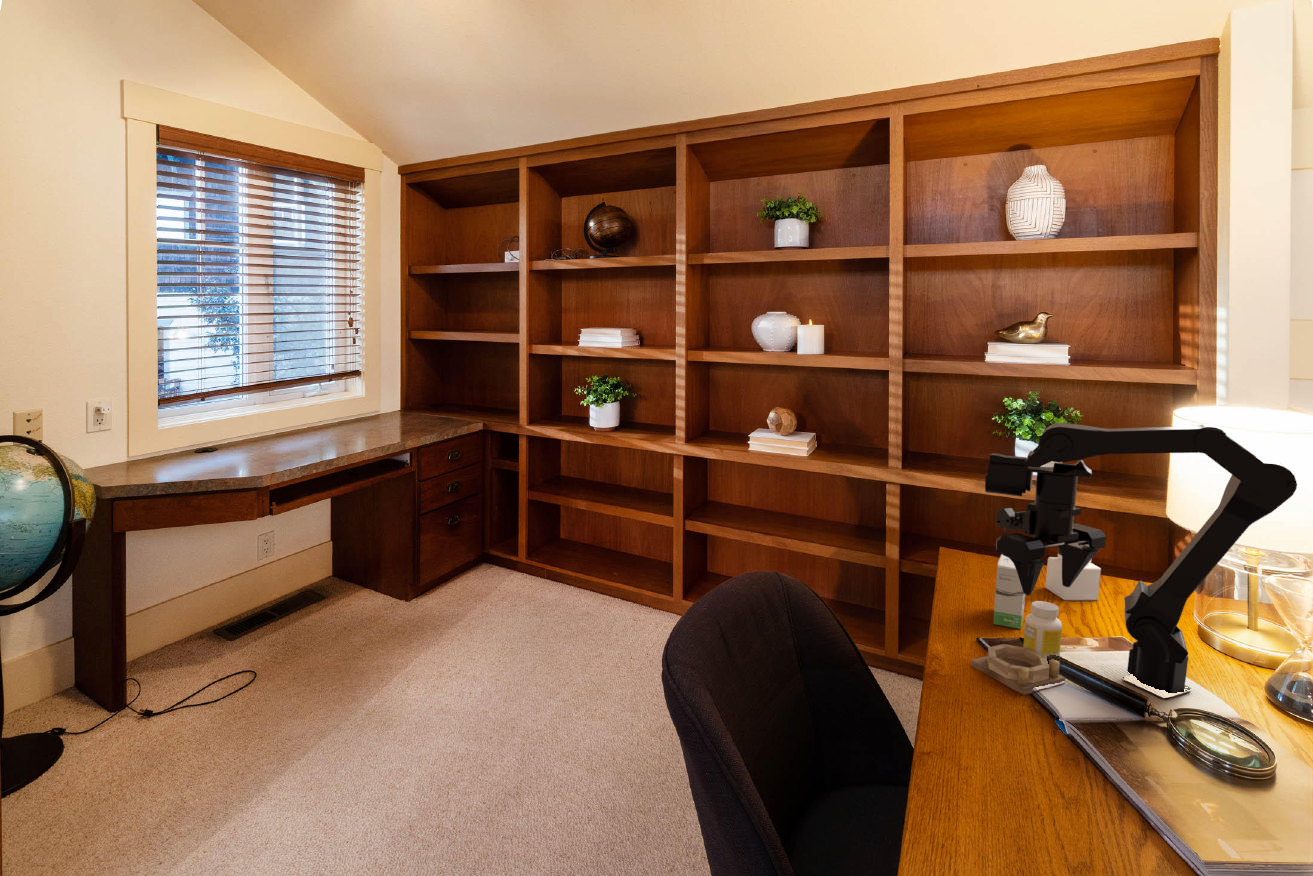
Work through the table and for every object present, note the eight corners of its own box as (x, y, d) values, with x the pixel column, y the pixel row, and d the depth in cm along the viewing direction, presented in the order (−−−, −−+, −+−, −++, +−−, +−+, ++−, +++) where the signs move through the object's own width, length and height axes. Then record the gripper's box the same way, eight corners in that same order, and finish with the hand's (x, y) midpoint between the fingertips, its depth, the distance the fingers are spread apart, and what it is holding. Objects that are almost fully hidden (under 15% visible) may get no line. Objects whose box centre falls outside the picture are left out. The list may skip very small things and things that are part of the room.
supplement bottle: (1062, 659, 112) (1067, 605, 111) (1054, 671, 108) (1059, 615, 107) (1027, 649, 116) (1031, 596, 114) (1018, 660, 112) (1022, 606, 111)
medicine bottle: (1098, 600, 137) (1104, 545, 135) (1064, 600, 137) (1069, 545, 135) (1077, 587, 144) (1082, 535, 142) (1044, 588, 144) (1049, 535, 142)
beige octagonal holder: (1064, 683, 104) (1066, 663, 104) (1023, 695, 101) (1025, 674, 101) (1010, 655, 114) (1011, 637, 113) (971, 665, 110) (972, 646, 110)
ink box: (1021, 630, 123) (1026, 570, 122) (992, 624, 126) (996, 565, 124) (1024, 614, 131) (1028, 557, 129) (996, 608, 133) (1000, 553, 131)
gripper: (1050, 485, 119) (1042, 567, 121) (972, 494, 112) (966, 582, 114) (1112, 498, 108) (1102, 588, 111) (1030, 510, 102) (1022, 606, 104)
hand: (1046, 590), depth 110 cm, fingers open, 9 cm apart
